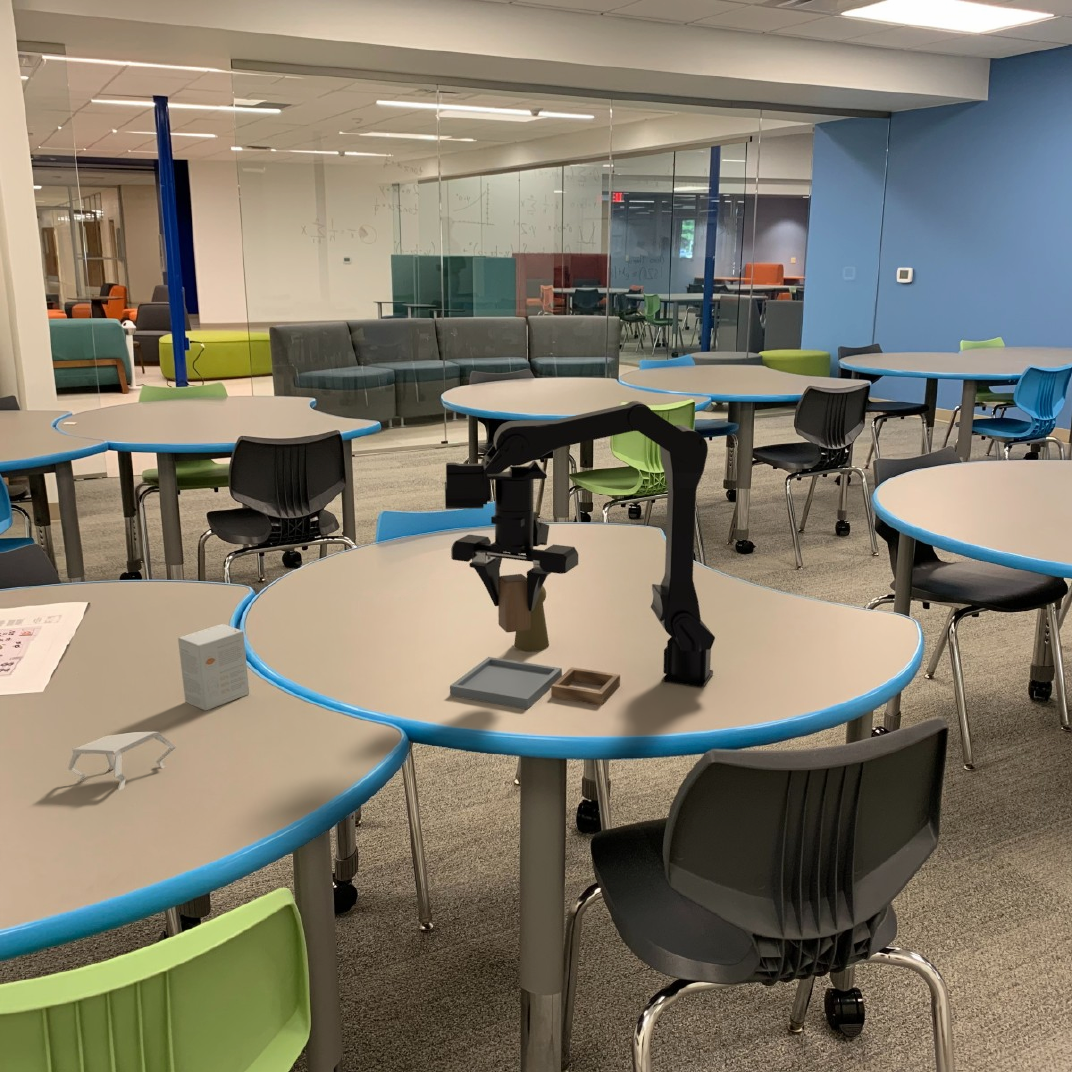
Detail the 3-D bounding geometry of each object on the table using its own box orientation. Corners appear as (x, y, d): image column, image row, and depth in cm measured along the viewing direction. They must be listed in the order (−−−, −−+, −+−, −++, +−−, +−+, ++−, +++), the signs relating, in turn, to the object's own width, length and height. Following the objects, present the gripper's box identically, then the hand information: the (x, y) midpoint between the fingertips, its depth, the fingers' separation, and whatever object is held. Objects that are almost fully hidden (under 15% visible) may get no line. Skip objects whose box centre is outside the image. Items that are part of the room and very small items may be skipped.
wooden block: (497, 625, 155) (497, 575, 153) (522, 622, 157) (522, 572, 155) (506, 633, 152) (506, 582, 150) (531, 630, 153) (531, 580, 151)
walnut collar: (619, 685, 157) (620, 674, 157) (601, 705, 150) (601, 694, 149) (571, 677, 160) (571, 667, 160) (551, 696, 153) (551, 685, 153)
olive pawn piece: (519, 653, 171) (517, 591, 168) (510, 641, 177) (509, 580, 174) (553, 649, 173) (552, 587, 170) (543, 637, 178) (543, 577, 176)
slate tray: (561, 677, 160) (561, 668, 160) (527, 709, 149) (527, 699, 148) (488, 666, 166) (488, 656, 165) (450, 695, 154) (449, 685, 154)
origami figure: (93, 803, 124) (88, 767, 123) (68, 780, 130) (63, 745, 129) (186, 770, 132) (182, 735, 131) (159, 750, 138) (155, 716, 137)
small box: (229, 685, 159) (223, 622, 156) (250, 694, 156) (244, 630, 153) (183, 702, 153) (176, 636, 150) (204, 711, 150) (197, 645, 147)
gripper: (592, 503, 153) (590, 601, 157) (482, 492, 160) (483, 586, 164) (564, 518, 143) (563, 622, 147) (448, 506, 151) (450, 605, 154)
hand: (514, 608), depth 154 cm, fingers closed on wooden block, 5 cm apart
